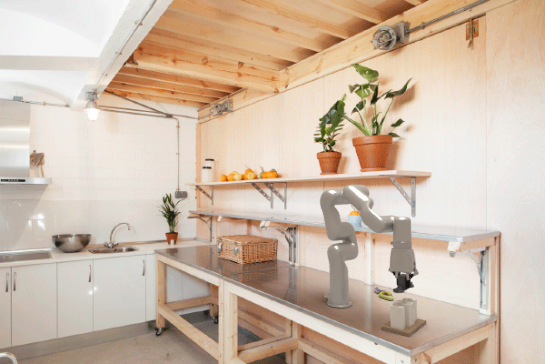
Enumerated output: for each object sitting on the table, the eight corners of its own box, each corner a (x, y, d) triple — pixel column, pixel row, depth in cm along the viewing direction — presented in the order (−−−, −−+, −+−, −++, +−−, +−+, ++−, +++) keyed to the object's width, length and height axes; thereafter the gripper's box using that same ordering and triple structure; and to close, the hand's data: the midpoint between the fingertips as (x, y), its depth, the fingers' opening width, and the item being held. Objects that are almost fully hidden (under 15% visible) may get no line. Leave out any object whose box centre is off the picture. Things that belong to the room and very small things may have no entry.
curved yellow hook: (368, 289, 221) (384, 301, 196) (368, 284, 221) (384, 296, 196) (381, 288, 221) (398, 301, 196) (381, 284, 221) (398, 296, 196)
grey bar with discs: (390, 291, 155) (390, 277, 155) (405, 284, 167) (405, 271, 167) (401, 293, 152) (400, 279, 152) (416, 286, 164) (415, 272, 164)
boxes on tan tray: (381, 329, 156) (380, 304, 157) (399, 317, 170) (399, 295, 171) (409, 337, 148) (408, 310, 149) (426, 323, 162) (425, 299, 163)
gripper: (380, 244, 163) (382, 286, 162) (418, 248, 152) (419, 293, 151) (388, 242, 168) (389, 283, 168) (424, 245, 157) (426, 289, 157)
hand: (403, 287), depth 160 cm, fingers closed on grey bar with discs, 3 cm apart
